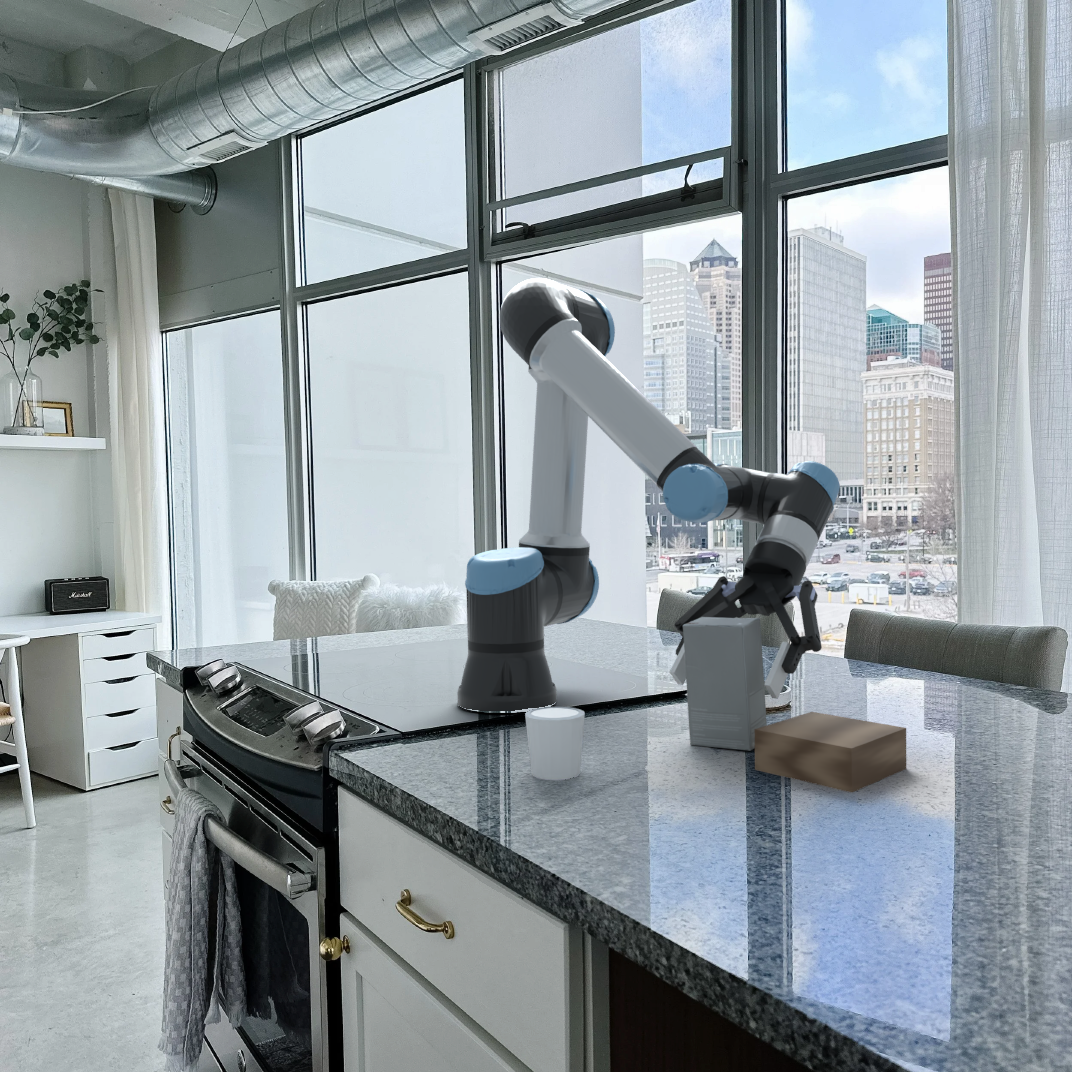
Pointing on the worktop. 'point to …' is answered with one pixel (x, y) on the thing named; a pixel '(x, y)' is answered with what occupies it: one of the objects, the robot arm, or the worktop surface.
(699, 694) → the skincare box
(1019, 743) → the worktop surface
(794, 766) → the walnut block
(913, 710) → the worktop surface
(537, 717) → the white tapered cup
